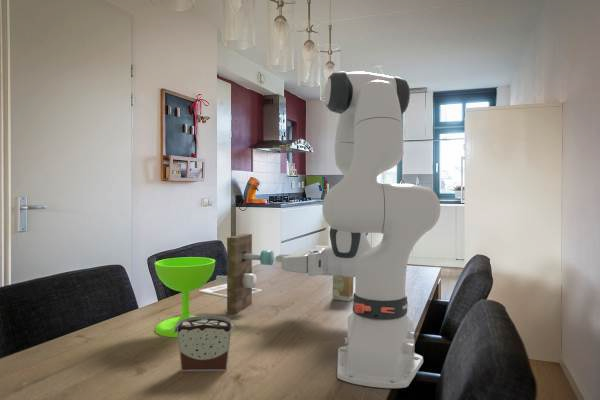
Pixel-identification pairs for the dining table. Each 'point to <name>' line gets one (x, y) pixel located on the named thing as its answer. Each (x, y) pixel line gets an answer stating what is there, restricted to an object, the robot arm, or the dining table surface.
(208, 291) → the photo frame
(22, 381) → the dining table surface
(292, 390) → the dining table surface
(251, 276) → the knob lower
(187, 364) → the food container
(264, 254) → the knob upper
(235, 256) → the block
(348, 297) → the skincare box
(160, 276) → the wineglass
